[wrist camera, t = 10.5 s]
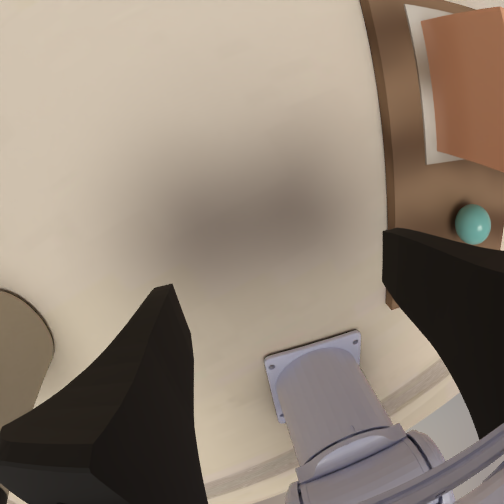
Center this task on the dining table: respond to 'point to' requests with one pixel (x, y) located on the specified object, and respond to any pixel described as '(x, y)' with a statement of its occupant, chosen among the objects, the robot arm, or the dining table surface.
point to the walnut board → (422, 130)
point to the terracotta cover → (468, 83)
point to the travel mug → (20, 360)
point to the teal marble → (472, 224)
